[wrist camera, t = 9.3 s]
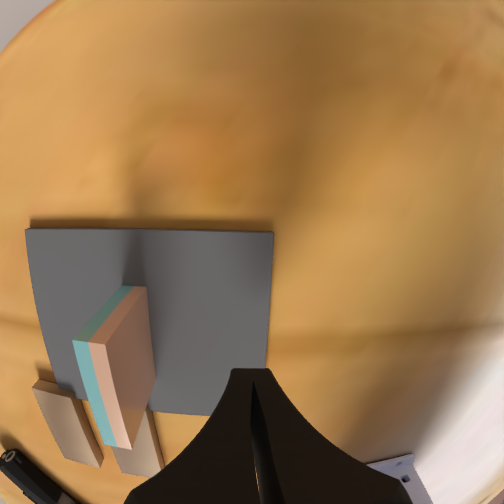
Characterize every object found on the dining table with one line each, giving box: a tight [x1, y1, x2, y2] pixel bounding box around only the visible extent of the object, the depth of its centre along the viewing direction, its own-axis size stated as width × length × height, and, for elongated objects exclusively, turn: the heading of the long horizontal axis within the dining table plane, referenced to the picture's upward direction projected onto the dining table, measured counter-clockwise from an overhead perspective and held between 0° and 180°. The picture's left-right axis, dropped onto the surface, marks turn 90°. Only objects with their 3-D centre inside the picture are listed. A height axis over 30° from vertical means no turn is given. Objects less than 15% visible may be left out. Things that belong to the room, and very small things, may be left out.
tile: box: [72, 285, 156, 450], centre depth 11 cm, size 1×5×5 cm, turn 177°
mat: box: [25, 228, 274, 416], centre depth 14 cm, size 12×10×1 cm
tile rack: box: [32, 379, 165, 478], centre depth 15 cm, size 8×7×1 cm
